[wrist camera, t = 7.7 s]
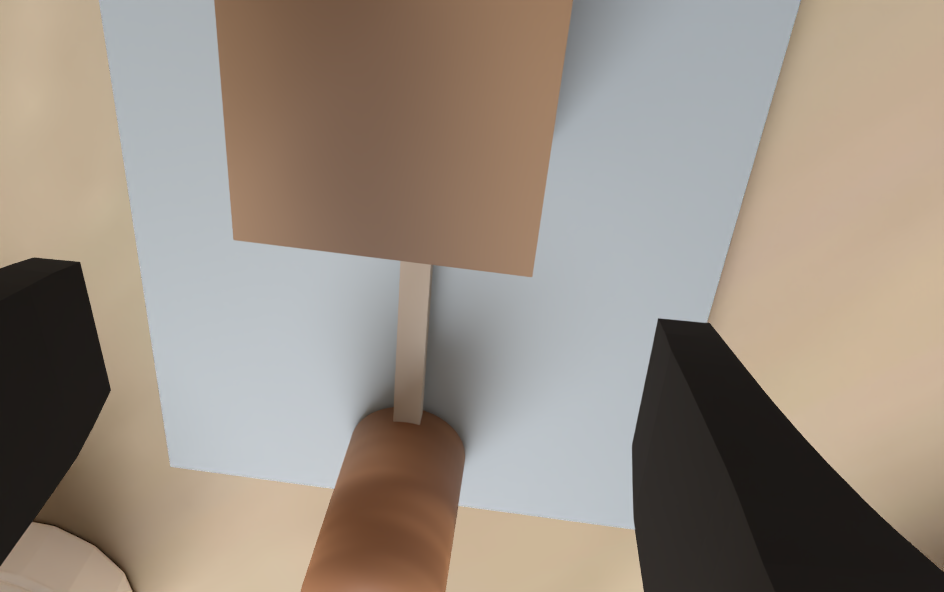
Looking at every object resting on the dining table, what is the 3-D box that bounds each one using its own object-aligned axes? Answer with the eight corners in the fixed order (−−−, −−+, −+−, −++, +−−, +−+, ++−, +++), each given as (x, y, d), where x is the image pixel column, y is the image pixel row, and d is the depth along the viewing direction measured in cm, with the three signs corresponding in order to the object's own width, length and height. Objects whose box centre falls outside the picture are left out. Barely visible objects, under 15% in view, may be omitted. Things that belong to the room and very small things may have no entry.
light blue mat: (1076, -1046, 10) (1294, -1400, 7) (642, 500, 25) (653, 601, 22) (-24, -1115, 11) (-261, -1476, 8) (186, 439, 25) (134, 529, 22)
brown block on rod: (576, -95, 15) (580, -47, 11) (491, 505, 23) (474, 664, 19) (307, -124, 15) (207, -89, 11) (319, 481, 24) (265, 634, 19)
